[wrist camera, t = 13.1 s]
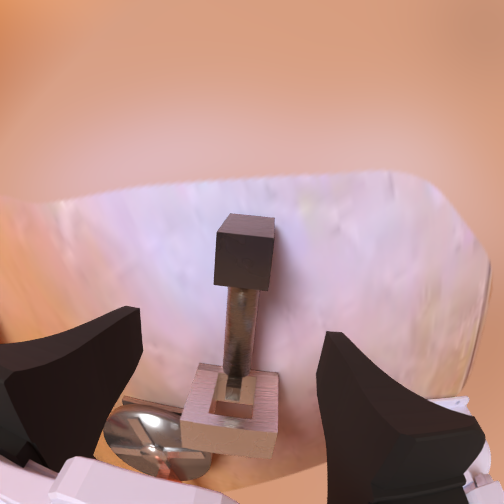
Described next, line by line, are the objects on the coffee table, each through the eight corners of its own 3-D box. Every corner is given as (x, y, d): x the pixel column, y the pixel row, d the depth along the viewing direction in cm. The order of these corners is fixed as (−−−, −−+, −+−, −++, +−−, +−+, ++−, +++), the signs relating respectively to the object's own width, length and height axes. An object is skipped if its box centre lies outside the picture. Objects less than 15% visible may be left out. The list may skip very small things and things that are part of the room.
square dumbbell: (274, 217, 19) (274, 238, 15) (256, 368, 22) (252, 412, 18) (230, 213, 19) (216, 232, 15) (220, 363, 22) (209, 406, 18)
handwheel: (90, 402, 24) (70, 433, 20) (191, 402, 23) (179, 442, 19) (143, 478, 27) (132, 506, 23) (231, 482, 26) (226, 515, 22)
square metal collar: (278, 372, 23) (277, 432, 17) (273, 400, 24) (271, 459, 18) (199, 363, 23) (179, 419, 18) (199, 391, 24) (182, 447, 18)
